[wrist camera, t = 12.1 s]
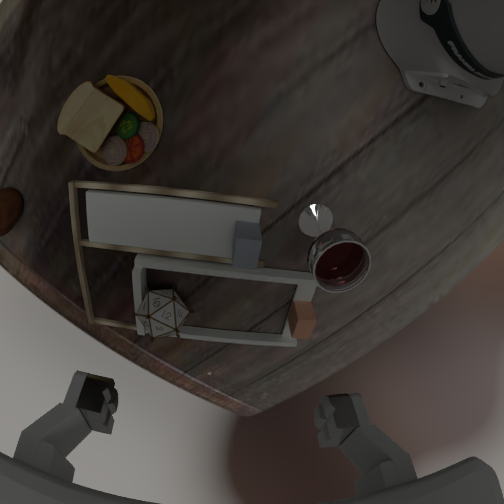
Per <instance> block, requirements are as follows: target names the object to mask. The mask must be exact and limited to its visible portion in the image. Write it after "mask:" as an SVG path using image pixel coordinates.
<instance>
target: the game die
mask: <svg viewBox="0 0 504 504" xmlns="http://www.w3.org/2000/svg"><path fill="white" fill-rule="evenodd" d="M175 287H176V286H175V285H173V287H172V289H163V290H149V288H148V287H147V286H145V289H146V291H147V293H146V295H145V297H144V299H143V301H142V303H141V305H140V307H139V309H138V311H137V313H132V314H131V315H132V316H133V317H134V316H137V317H138V319H139V320H140V322H141V323H142V324H143V326H144V327H145V329H146V330H147V332H148V333H149V334H150V336H151V337H152V338H151V340H150V344H151V343H152V342H153V341H154V338H160V337H166V336H172V335H176V336H177V338H180V335H179V334H180V333H179V332H180V329H181V327H182V325H183V324H184V322H185V320H186V318H187V317H188V315H189V313H194V312H195V310H189V309H188V308H187V306H186V305H185V304H184V302H183V301H182V300H181V298H180V297H179V296H178V294H177V293H176V292H175V290H174V289H175ZM178 333H179V334H178Z"/></svg>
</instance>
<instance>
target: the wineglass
mask: <svg viewBox="0 0 504 504" xmlns="http://www.w3.org/2000/svg"><path fill="white" fill-rule="evenodd" d="M332 222H333V216H332V213H331V211H330V209H329V208H327V207H326V206H324V205H321V204H314V205H311V206H309V207H307V208H305V209H304V211H303V212H302V213H301V215H300V217H299V227H300V229H301V231H302V232H303V233H304V234H306V235H308V236H311V237H316V238H315V239H314V241H313V242H312V244H311V246H310V248H309V251H308V258H307V262H308V266H309V269H310V271H311V273H312V274H313V276H314V281H315V282H316V284H317V285H318V286H319V287H320V288H321V289H323V290H324V291H327V292H331V293H342V292H345V291H348V290H351V289H353V288H354V287H356V286H358V285H359V284H360V283H361V282H362V281H363V280H364V279H365V277H366V276H367V274H368V272H369V270H370V266H371V255H370V253H369V251H368V249H367V248H366V247H365V246H364V244H363V242H362V240H361V239H360V238H359V237H358V236H357V235H356V234H354V233H353V232H352V231H349V230H346V229H343V228H333V229H330V227H331V225H332Z"/></svg>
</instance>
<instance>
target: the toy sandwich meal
mask: <svg viewBox="0 0 504 504" xmlns="http://www.w3.org/2000/svg"><path fill="white" fill-rule="evenodd" d="M162 128H163V113H162V108H161V105H160V102H159V100H158V98H157V96H156V94H155V93H154V92H153V90H152V89H151V88H150V87H149V86H148V85H147V84H145V83H144V82H142V81H140V80H138V79H136V78H133V77H129V76H112V75H107V76H106V78H105V79H104V80H102V81H100V82H98V83H97V84H94V83H93V82H92V81H86V82H84V83H82V84H81V85H80V86H78V87H77V88H76V89H75V90H74V91H73V92H72V94H71V95H70V96H69V98H68V99H67V101H66V103H65V104H64V106H63V108H62V111H61V113H60V116H59V119H58V125H57V130H58V133H59V134H64V135H66V136H68V137H70V138H71V139H73V140H74V141H76V143H77V145H78V147H79V149H80V151H81V153H82V154H83V155H84V157H85V158H86V159H87V160H88V161H89V162H91V163H92V164H93V165H95V166H97V167H99V168H101V169H104V170H108V171H124V170H128V169H131V168H133V167H135V166H137V165H139V164H141V163H142V162H143V161H145V160H146V159H147V158H148V157H149V156H150V155H151V153H152V152H153V151H154V149H155V148H156V146H157V144H158V142H159V139H160V137H161V133H162Z"/></svg>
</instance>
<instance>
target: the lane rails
mask: <svg viewBox="0 0 504 504" xmlns="http://www.w3.org/2000/svg"><path fill="white" fill-rule="evenodd" d="M77 188H92V189H106V190H119V191H130V192H142V193H152V194H163V195H172V196H182V197H191V198H200V199H209V200H217V201H225V202H233V203H241V204H248V205H256V206H263V207H270V208H277V205H278V202H277V201H274V200H267V199H260V198H253V197H246V196H238V195H231V194H223V193H215V192H206V191H197V190H188V189H179V188H169V187H159V186H148V185H137V184H124V183H111V182H96V181H79V180H72V181H71V182H69V198H70V211H71V222H72V231H73V240H74V247H75V254H76V261H77V267H78V273H79V279H80V284H81V289H82V295H83V299H84V304H85V309H86V313H87V317H88V322H89V324H93V323H99V324H104V325H110V326H115V327H121V328H127V329H133V330H137V325H136V324H133V323H127V322H121V321H115V320H109V319H103V318H98V317H94V314H93V309H92V304H91V299H90V294H89V288H88V282H87V276H86V270H85V263H84V256H83V248H82V246H89V247H97V248H105V249H112V250H120V251H128V252H136V253H145V254H153V255H161V256H169V257H178V258H186V259H195V260H204V261H212V262H221V263H230V264H232V258H225V257H216V256H208V255H199V254H190V253H182V252H173V251H165V250H156V249H148V248H140V247H131V246H123V245H115V244H107V243H99V242H91V241H89V239H81V231H80V220H79V207H78V190H77ZM264 264H265V261H264V260H260V259H259V260H258V265H257V267H264Z"/></svg>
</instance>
